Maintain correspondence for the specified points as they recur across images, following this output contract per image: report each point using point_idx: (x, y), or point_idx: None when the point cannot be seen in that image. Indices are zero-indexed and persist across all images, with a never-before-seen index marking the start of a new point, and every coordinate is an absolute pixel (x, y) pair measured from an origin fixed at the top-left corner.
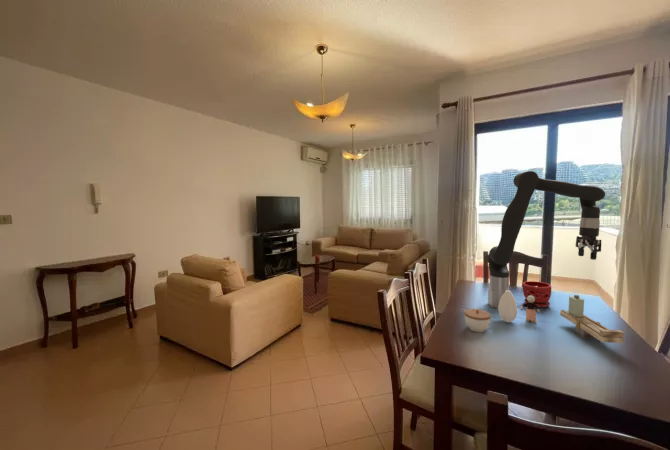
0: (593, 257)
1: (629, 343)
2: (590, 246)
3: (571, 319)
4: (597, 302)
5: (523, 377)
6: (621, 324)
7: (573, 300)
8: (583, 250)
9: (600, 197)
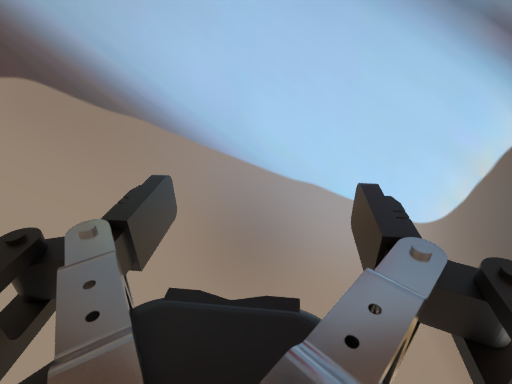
0: (128, 193)
1: (19, 42)
2: (61, 281)
3: None
4: None
5: None
6: (167, 127)
7: None
8: (365, 267)
9: None
